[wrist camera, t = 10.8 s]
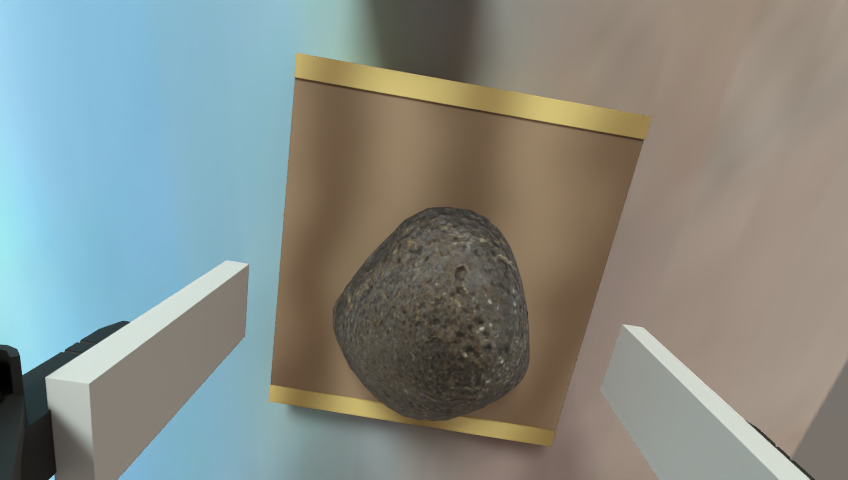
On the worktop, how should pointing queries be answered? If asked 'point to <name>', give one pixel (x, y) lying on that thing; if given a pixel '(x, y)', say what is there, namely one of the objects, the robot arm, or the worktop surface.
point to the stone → (436, 317)
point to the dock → (444, 187)
